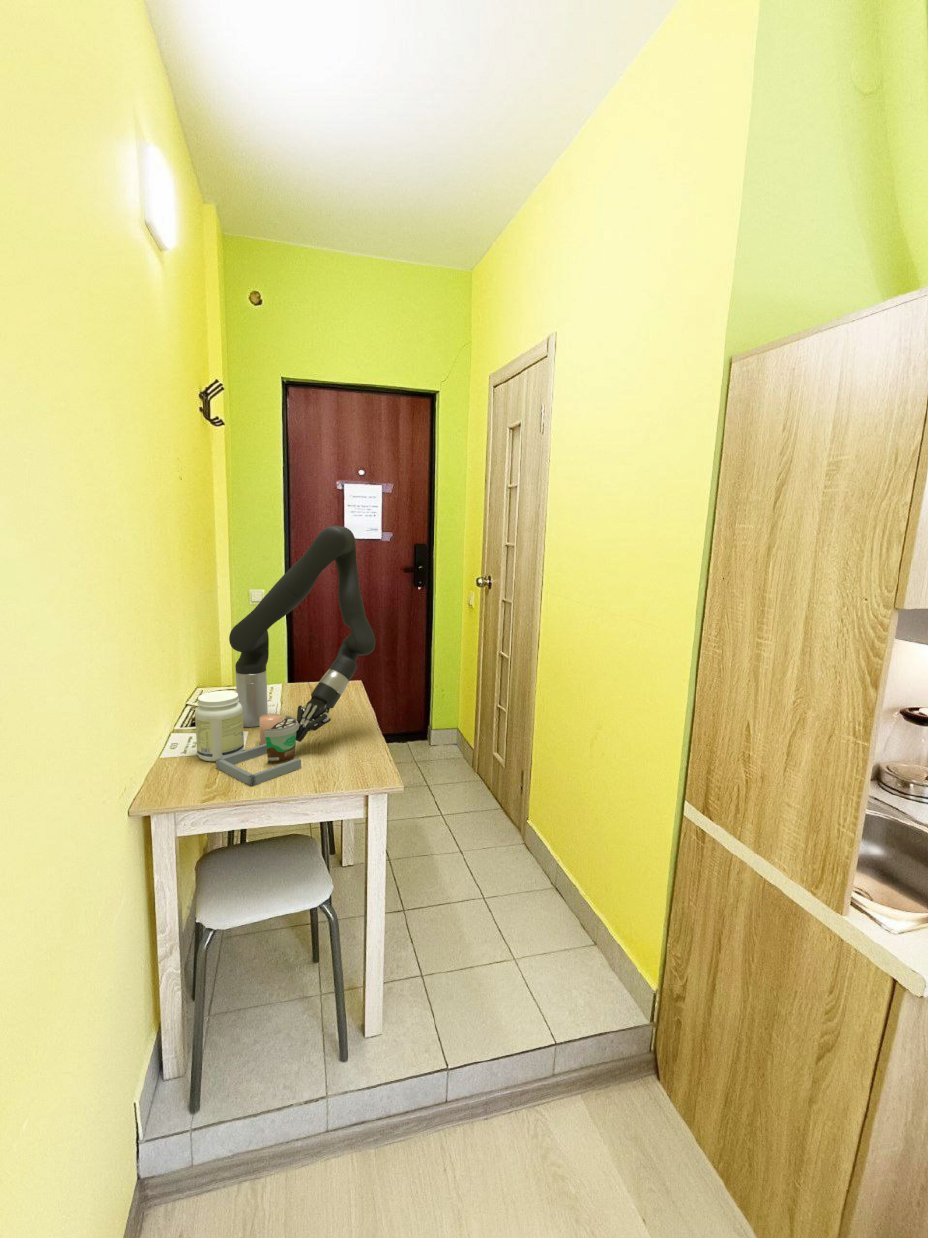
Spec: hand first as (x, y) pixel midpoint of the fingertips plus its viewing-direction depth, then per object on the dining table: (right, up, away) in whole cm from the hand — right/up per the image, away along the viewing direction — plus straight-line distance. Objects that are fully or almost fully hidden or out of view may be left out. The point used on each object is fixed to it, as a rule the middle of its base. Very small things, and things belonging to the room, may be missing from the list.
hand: (296, 740), depth 164 cm
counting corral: (-8, -6, -9) cm, 13 cm away
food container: (-2, -5, -1) cm, 5 cm away
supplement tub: (-21, -4, 0) cm, 21 cm away
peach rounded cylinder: (-10, -3, +9) cm, 14 cm away
